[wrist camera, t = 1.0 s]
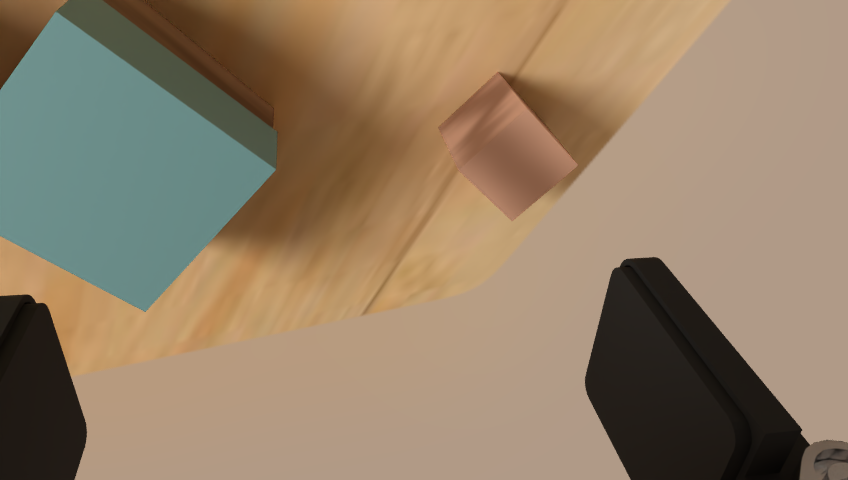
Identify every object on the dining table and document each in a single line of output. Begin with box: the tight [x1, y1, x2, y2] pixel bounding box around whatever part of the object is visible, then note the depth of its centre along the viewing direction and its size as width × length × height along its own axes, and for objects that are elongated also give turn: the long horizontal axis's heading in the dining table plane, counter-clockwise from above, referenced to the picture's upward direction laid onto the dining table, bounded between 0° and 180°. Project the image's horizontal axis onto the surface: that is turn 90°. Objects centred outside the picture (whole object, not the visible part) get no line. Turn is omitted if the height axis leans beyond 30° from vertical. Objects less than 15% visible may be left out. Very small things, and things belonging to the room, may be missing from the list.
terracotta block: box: [438, 72, 578, 221], centre depth 40 cm, size 5×5×6 cm
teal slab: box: [0, 0, 277, 312], centre depth 33 cm, size 11×11×4 cm
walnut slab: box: [103, 0, 274, 128], centre depth 36 cm, size 11×11×4 cm
